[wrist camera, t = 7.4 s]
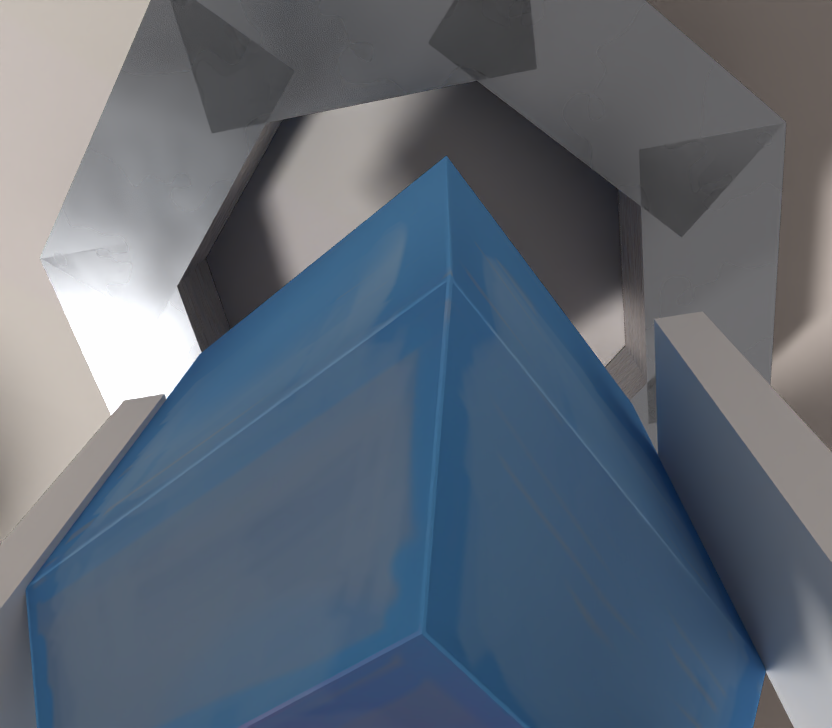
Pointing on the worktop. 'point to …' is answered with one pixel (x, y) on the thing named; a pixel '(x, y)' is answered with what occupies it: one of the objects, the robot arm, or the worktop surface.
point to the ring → (396, 76)
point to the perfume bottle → (392, 519)
